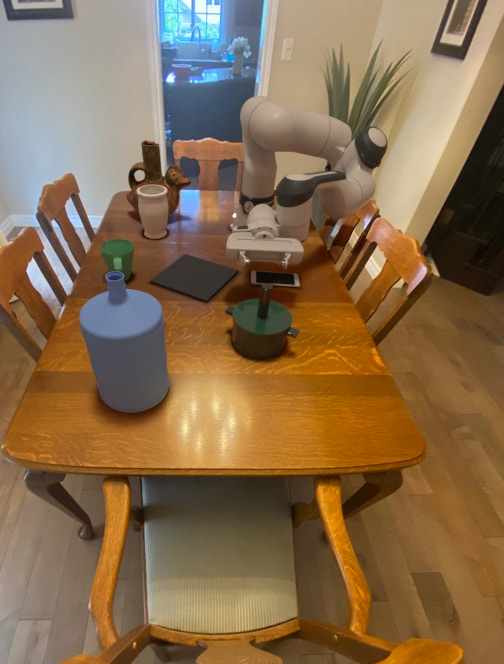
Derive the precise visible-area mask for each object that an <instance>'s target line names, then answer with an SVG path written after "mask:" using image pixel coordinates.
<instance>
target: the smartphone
mask: <svg viewBox="0 0 504 664" xmlns="http://www.w3.org/2000/svg"><path fill="white" fill-rule="evenodd" d="M264 283H269V284H271V285H272V286H273V287H286V288H287V287H288V288H300V286H301V284H300V277H299V274H298V273H296V272H295V273H294V272H293V273H292V272H280V271H279V272H278V271H264V270H263V271H262V270H251V272H250V284H251V285H254V286H255V285H256V286H262V284H264Z"/></svg>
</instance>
